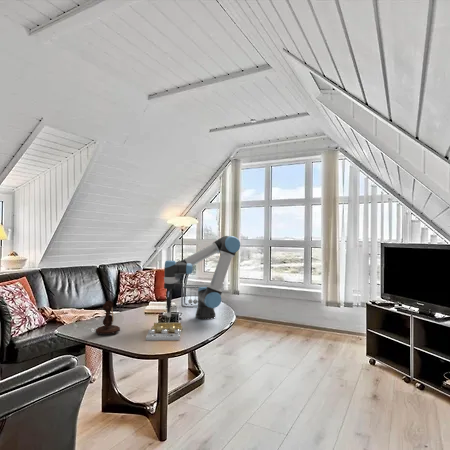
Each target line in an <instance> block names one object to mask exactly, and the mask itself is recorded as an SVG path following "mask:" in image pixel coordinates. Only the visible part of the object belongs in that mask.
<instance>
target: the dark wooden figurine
mask: <svg viewBox="0 0 450 450" xmlns="http://www.w3.org/2000/svg"><path fill="white" fill-rule="evenodd" d="M113 307H114V302H113V301H112V300H106V301H105V302H104V304H103V305H102V309H103V311H104V312H105V315H104V318H103V320H102V324H103V325H101V326H99V327H97V328H96V329H95V333H97V334H98V336H100V335H107V334H110V335H111V334H114V335H117V333H118V332H120V331H121V327H120V326H118V325H115V324H114V325H113V323H114V313H113V312H114V311H113Z"/></svg>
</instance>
